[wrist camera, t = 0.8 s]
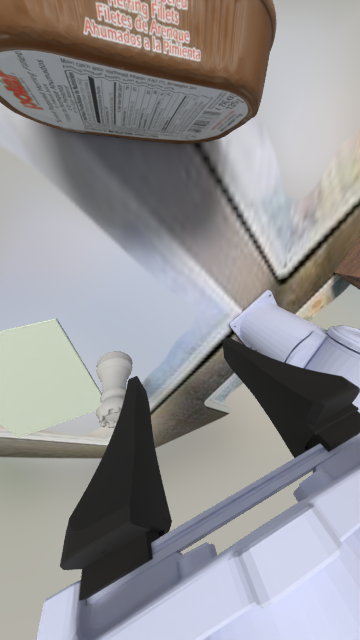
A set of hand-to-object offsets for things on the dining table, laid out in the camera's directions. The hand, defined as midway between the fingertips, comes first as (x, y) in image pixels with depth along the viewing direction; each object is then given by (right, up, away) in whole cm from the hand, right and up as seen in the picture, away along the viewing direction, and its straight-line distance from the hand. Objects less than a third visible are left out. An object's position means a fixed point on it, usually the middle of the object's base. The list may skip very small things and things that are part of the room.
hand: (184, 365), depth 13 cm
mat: (-18, -4, +7) cm, 20 cm away
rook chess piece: (-9, -2, +9) cm, 13 cm away
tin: (-4, +19, 0) cm, 19 cm away
